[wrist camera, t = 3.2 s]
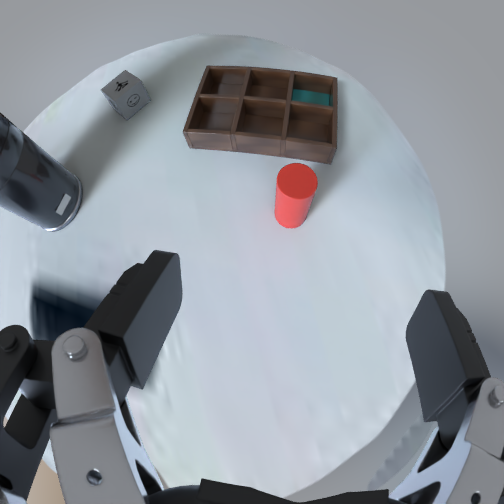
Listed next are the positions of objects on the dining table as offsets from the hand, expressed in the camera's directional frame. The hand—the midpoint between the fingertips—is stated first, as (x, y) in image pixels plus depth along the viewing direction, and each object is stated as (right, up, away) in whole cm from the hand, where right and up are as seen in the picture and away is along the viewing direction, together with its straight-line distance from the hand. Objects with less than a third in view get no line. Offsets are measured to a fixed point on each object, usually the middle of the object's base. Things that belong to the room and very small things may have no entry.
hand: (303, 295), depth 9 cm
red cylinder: (+3, +6, +26) cm, 27 cm away
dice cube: (-21, +25, +32) cm, 46 cm away
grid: (0, +20, +30) cm, 36 cm away
